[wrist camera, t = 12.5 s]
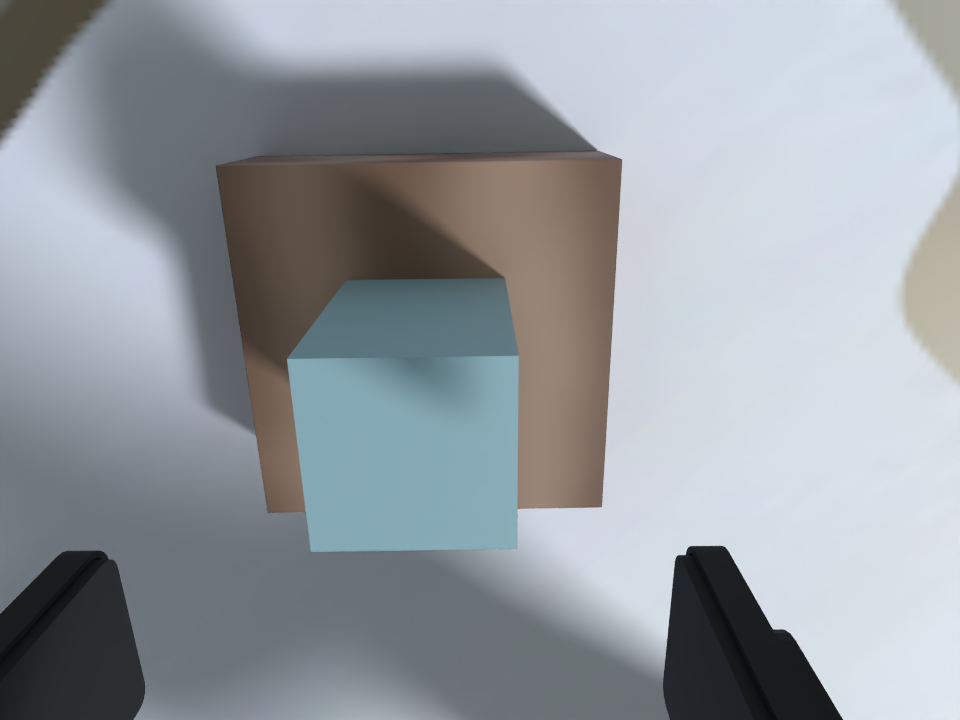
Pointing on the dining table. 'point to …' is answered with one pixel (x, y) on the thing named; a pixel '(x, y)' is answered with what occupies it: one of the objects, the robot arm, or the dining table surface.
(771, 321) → the dining table surface
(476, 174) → the walnut plinth
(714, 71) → the dining table surface
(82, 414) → the dining table surface
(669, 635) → the robot arm
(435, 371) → the teal block
